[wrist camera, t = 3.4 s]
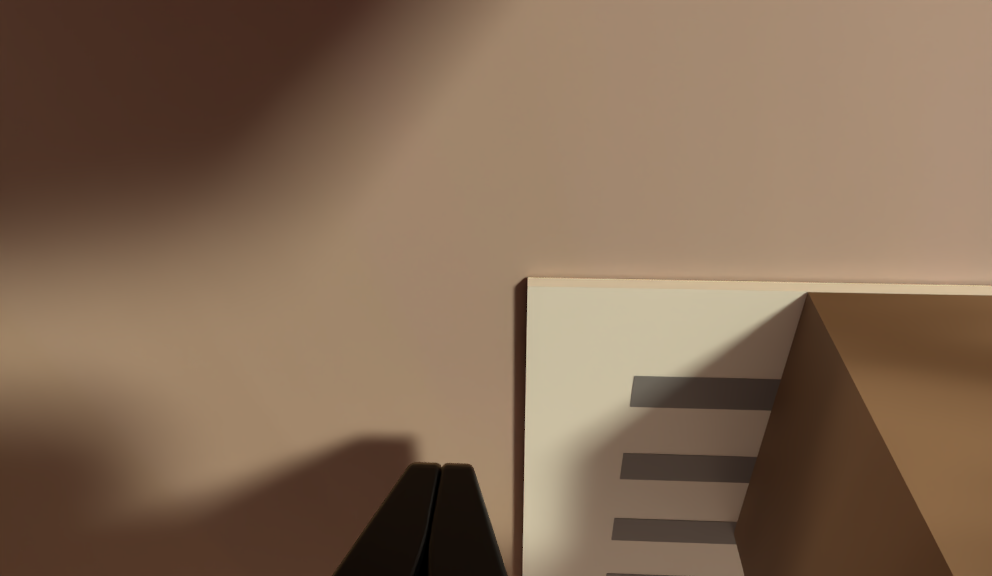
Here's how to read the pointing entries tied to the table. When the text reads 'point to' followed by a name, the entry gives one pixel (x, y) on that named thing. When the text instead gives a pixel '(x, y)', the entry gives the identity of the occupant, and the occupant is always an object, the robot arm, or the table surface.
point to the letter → (653, 417)
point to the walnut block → (877, 442)
